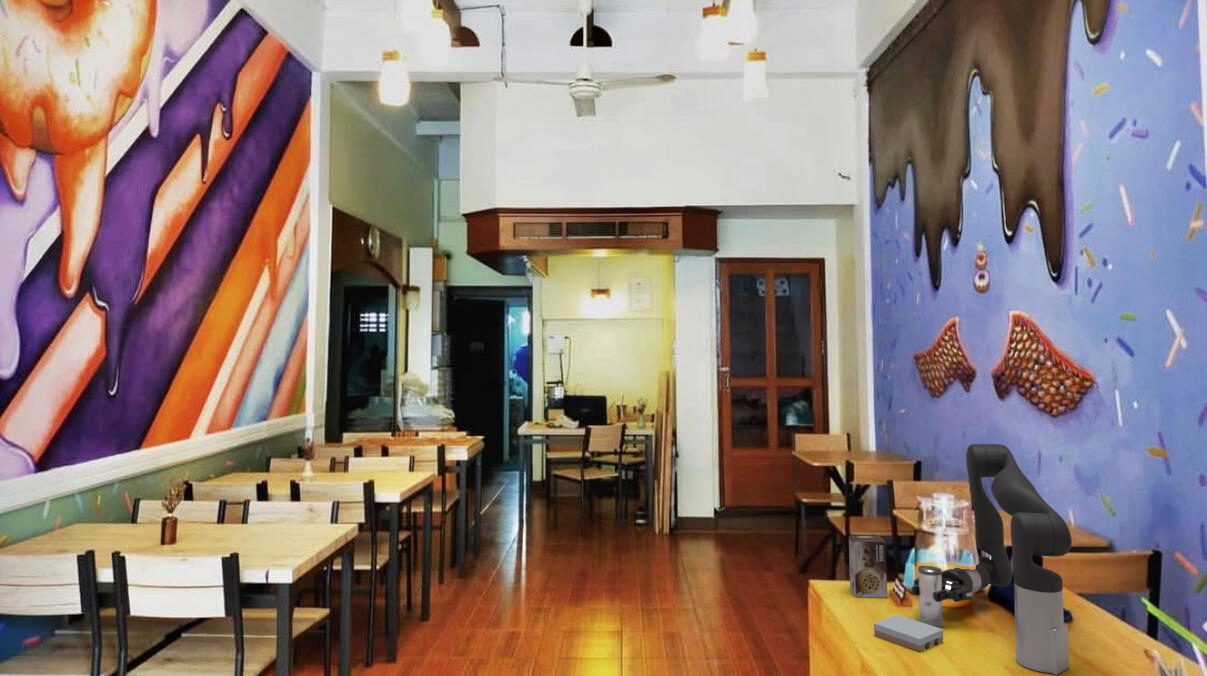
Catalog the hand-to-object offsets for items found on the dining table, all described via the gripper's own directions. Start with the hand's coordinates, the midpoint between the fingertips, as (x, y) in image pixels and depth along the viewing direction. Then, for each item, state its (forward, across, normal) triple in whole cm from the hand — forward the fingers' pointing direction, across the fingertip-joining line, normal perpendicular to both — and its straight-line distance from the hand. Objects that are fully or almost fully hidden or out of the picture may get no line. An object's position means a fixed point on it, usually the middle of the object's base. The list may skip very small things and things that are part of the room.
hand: (925, 594), depth 177 cm
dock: (+11, +2, +8) cm, 14 cm away
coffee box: (-10, -23, +8) cm, 26 cm away
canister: (-3, 0, +8) cm, 8 cm away
